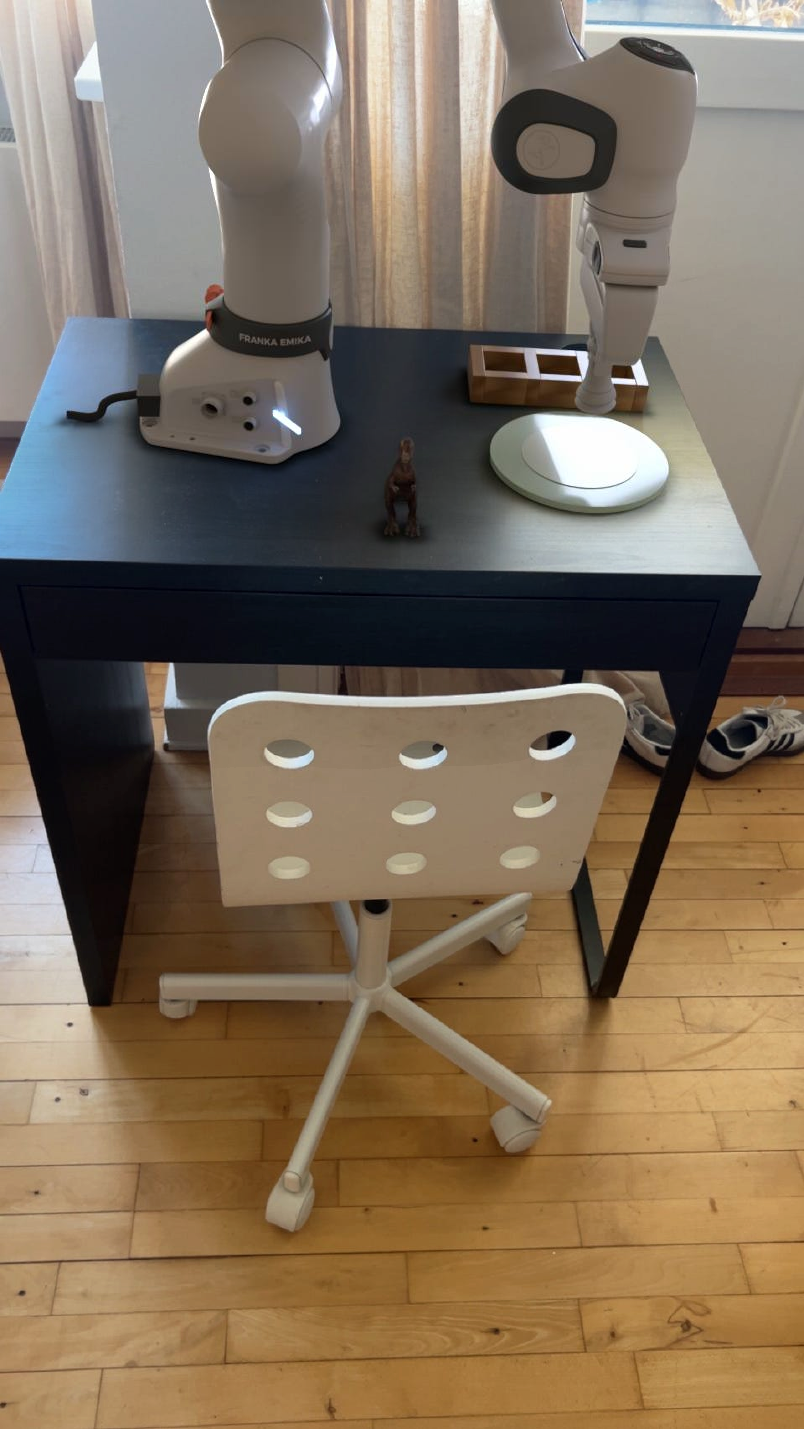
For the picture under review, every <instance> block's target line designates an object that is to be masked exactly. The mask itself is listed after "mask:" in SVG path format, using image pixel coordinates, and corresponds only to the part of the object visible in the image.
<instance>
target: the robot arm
mask: <svg viewBox="0 0 804 1429" xmlns="http://www.w3.org/2000/svg"><path fill="white" fill-rule="evenodd" d="M205 2H206V5H207V8H208V11H209V13H210V16H211V19H212V22H213V25H214V28H215V30H216V31H215V32H216V34H217V37H218V40H219V45H220V49H221V56H222V58H221V59H222V64H221V67H220V68H219V69H218V70H217V72H216V73H214V75H213V76H212V78H211V79H210V80H209V82H208V84H207V87H206V88H205V91H204V94H203V97H202V100H201V105H200V111H199V116H198V124H197V139H198V144H199V149H200V151H201V155H202V158H203V159H204V162H205V164H206V165H207V167H208V171H209V177H210V182H211V187H212V190H213V195H214V199H215V204H216V208H217V214H218V220H219V227H220V237H221V238H220V239H221V259H222V260H221V261H222V280H223V281H222V282H223V287H222V286H221V285H219V284H211V285H209V286H208V288H207V289H206V292H205V295H204V302H205V304H206V305H205V318H204V320H205V329H202V330H201V331H200V332H198V333H196V334H195V335H194V336H192V337H191V338H189V339H187V340H186V341H184V342H182V343H181V344H180V345H178V346H177V347H175V348H174V349H173V350H172V351H171V353H170V354H169V355H168V357H167V359H166V361H165V363H164V365H163V367H162V370H161V373H137V384H136V389H135V390H128V391H121V392H116V393H112V394H109V395H107V396H105V397H104V398H102V399H101V400H100V402H99V403H98V405H97V409H96V410H95V411H93V412H83V411H77V410H66V420H74V421H81V422H95V421H98V420H100V419H102V418H104V416H105V415H106V413H107V410H108V407H110V406H111V405H113V404H115V403H119V402H124V401H125V402H126V401H131V400H136V407H137V415H138V418H139V430H140V434H141V435H142V438H143V439H144V440H145V441H146V443H148V444H149V445H152V446H157V447H164V448H170V449H174V450H181V451H188V452H194V453H198V454H199V453H200V454H206V455H211V456H217V457H225V458H230V459H231V458H232V459H237V460H243V461H249V462H256V463H261V464H267V465H276V464H281V463H282V462H284V461H286V460H287V459H289V458H290V457H292V456H293V455H294V454H298V453H300V452H304V451H307V450H310V449H313V448H315V447H318V446H321V445H322V444H325V443H326V442H328V441H330V440H331V439H332V438H333V437H334V436H335V435H336V434H337V432H338V431H339V429H340V426H341V417H340V414H339V410H338V407H337V406H338V405H337V403H336V398H335V393H334V388H333V382H332V373H331V362H330V361H331V360H330V356H331V354H332V350H333V344H334V313H333V302H332V300H331V299H330V289H329V288H330V257H331V256H330V252H331V250H330V249H331V227H330V223H329V221H328V216H327V208H326V199H325V190H324V177H323V176H324V174H323V173H324V172H323V157H324V150H325V145H326V140H327V136H328V133H329V131H330V129H331V127H332V125H333V124H334V121H335V119H336V118H337V116H338V114H339V111H340V109H341V106H342V100H343V90H344V88H343V87H344V86H343V85H344V83H343V82H344V81H343V80H344V79H343V69H342V64H341V60H340V57H339V53H338V51H337V45H336V41H335V36H334V35H335V34H334V32H333V26H332V21H331V18H330V13H329V8H328V5H327V1H326V0H205ZM489 3H490V5H491V6H490V7H491V10H492V13H493V16H494V20H495V23H496V27H497V30H498V34H499V37H500V40H501V44H502V48H503V51H504V60H505V61H504V62H505V69H504V70H505V72H504V80H503V87H502V93H501V100H500V103H499V105H498V108H497V112H496V114H495V117H494V121H493V124H492V128H491V132H490V152H491V156H492V159H493V162H494V165H495V168H497V170H498V172H499V174H500V175H501V177H502V178H503V179H504V180H505V181H506V182H507V183H508V184H509V185H511V186H512V187H513V188H515V189H517V190H518V191H521V192H523V193H527V194H531V195H537V196H538V195H541V196H542V195H544V196H545V195H546V196H548V195H568V194H570V195H571V194H579V193H580V194H581V193H583V194H582V200H581V207H580V213H579V218H578V225H577V231H576V232H577V233H576V238H575V246H576V248H577V250H578V251H579V252H580V253H581V254H582V258H581V264H580V268H579V269H580V270H579V285H580V287H581V292H582V295H583V298H584V302H585V306H586V309H587V312H588V315H589V329H588V336H589V337H588V340H589V339H590V338H591V334H592V332H594V335H595V339H596V342H597V346H598V348H597V352H596V354H594V359H593V365H592V368H593V373H594V375H595V376H596V377H609V376H610V374H611V371H612V366H613V365H625V366H632V365H635V364H636V363H637V362H638V361H639V359H641V358H642V356H643V353H644V350H645V347H646V344H647V340H648V337H649V334H650V331H651V326H652V324H653V319H654V316H655V312H656V308H657V303H658V298H659V296H658V295H659V287H665V286H666V285H667V283H668V279H669V276H670V273H671V272H670V271H671V258H670V241H671V237H672V231H673V230H672V227H673V223H674V222H673V221H674V217H675V213H676V208H677V202H678V195H677V194H678V193H677V185H678V179H679V176H680V173H681V171H682V170H683V167H684V165H685V164H686V160H687V158H688V154H689V149H690V144H691V139H692V134H693V128H694V122H695V115H696V110H697V101H698V100H697V99H698V76H697V75H698V74H697V72H696V70H695V67H694V66H693V63H692V62H691V60H690V59H689V58H688V57H687V55H685V53H683V52H682V51H680V50H678V49H676V47H674V46H672V45H670V44H668V43H665V42H663V41H660V40H657V39H653V38H650V37H645V36H640V37H639V36H626V37H622V38H620V39H619V40H618V41H617V42H616V43H615V44H613V45H612V46H610V47H609V48H607V49H604V50H602V51H601V52H599V53H598V54H596V55H594V56H592V57H590V56H589V54H588V53H587V52H586V50H585V49H584V47H583V46H582V45H581V44H580V42H579V41H578V40H577V38H576V37H575V35H574V33H573V31H572V29H571V27H570V25H569V22H568V19H567V16H566V11H565V6H564V3H563V0H489ZM586 349H587V352H588V353H590V349H589V348H588V346H587V348H586Z"/></svg>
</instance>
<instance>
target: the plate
mask: <svg viewBox="0 0 804 1429" xmlns="http://www.w3.org/2000/svg"><path fill="white" fill-rule="evenodd" d="M488 456H489V461H490V462H489V463H490V465H491V467H492V469H493V471H494V472H495V474H496V475H497V477H498V478H499V479H500V480H501V481H502V482H503V483H504V484H506V485H507V486H508V487H509V488H511V489H512V490H513V491H515V492H516V493H518V494H519V495H521V496H524V497H525V498H528V499H529V500H531V501H534V502H537V503H539V504H542V505H545V506H548V507H551V508H555V509H559V510H562V511H569V512H574V513H585V514H609V513H610V514H611V513H619V512H624V511H629V510H633V509H636V508H639V507H642V506H644V505H646V504H649V503H650V502H651V501H653V500H655V499H656V498H657V497H658V496H659V495H660V494H661V493H662V492H663V491H664V489H665V487H666V485H667V483H668V479H669V475H670V466H669V461H668V459H667V457H666V454H665V453H664V451H663V450H662V449H661V447H659V445H658V444H657V443H656V442H654V441H653V439H651V438H650V437H649V436H648V435H645V434H644V433H642V432H641V431H639V430H638V429H636V428H634V427H632V426H631V425H628V424H626V423H623V422H621V421H618V420H615V419H612V418H609V417H604V416H601V415H598V414H589V413H585V412H580V411H579V412H578V411H577V412H576V411H559V410H558V411H543V412H537V413H531V414H527V415H524V416H520V417H518V418H515V419H513V420H511V421H509V422H507V423H506V424H504V425H502V426H501V427H500V428H498V430H497V431H496V433H495V434H494V435H493V437H492V439H491V442H490V446H489V455H488Z"/></svg>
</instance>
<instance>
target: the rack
mask: <svg viewBox="0 0 804 1429" xmlns="http://www.w3.org/2000/svg"><path fill="white" fill-rule="evenodd" d="M588 354H589V353H588V350H587V351H583V350H568V349H552V348H536V347H521V346H520V347H519V346H518V347H517V346H505V345H504V346H501V345H485V344H483V345H481V344H470V345H469V352H468V361H467V372H466V373H467V382H468V393H469V402H470V403H477V404H479V403H481V404H492V405H493V404H494V405H495V404H496V405H512V406H529V407H545V408H546V407H547V408H563V409H564V408H565V409H579V408H578V407H577V405H576V404H575V400H574V399H575V398H576V396H577V395H576V391H577V389H578V387H579V385H581V382H582V381H583V380H584V378H585V375H586V371H587V368H588V361H589V360H588V358H587V356H588ZM611 380H612V383H613V385H614V386H613V387H614V388H615V391H616V398H615V401H616V405H615V406H614V408H613V409H612V410H611V411H619V412H620V411H621V412H632V413H633V412H636V413H644V410H645V407H646V402H647V398H648V393H649V389H650V384H649V381H648V378H647V374H646V372H645V369H644V366H643V362H642V359H641V358H640V359H639V361H638V362H637V363H636V364H635V365H632V366H625V365H613V366H612V371H611Z"/></svg>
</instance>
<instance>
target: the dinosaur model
mask: <svg viewBox="0 0 804 1429" xmlns="http://www.w3.org/2000/svg"><path fill="white" fill-rule="evenodd" d="M397 447H398V454H399V455H398V458H397V459H396V461H395V462H394V463H393V466H392V469H391V470H390V473H389V474H388V475H387V478H386V481H385V484H384V501H385V502H384V505H385V508H386V511H387V516H388V518H387V519H388V520H387V526H386V527H385V529H384V530H383V532H384V535H385V536H390V537H393V536H395V535H396V536H397V535H399V533H400V531H401V529H400V526H399V524H398V523H399V522H398V518H397V511H396V508H395V505H394V502H395V501H399V502H402V503H403V502H405V503H406V504H407V508H408V514H407V524H406V526H405V528H404V535H405V536H409V537H411V538H414V537H419V536H420V535H421V534H420V533H421V532H420V526H419V520H418V517H417V510H418V489H417V488H418V480H417V473H416V468H415V466H414V465H413V463H412V459H413V458H412V457H413V455H414V452H415V451H414V450H415V446H414V441H413V439H412V438H411V437H402V438H401V440H400V441H399V443H398V446H397Z"/></svg>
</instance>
